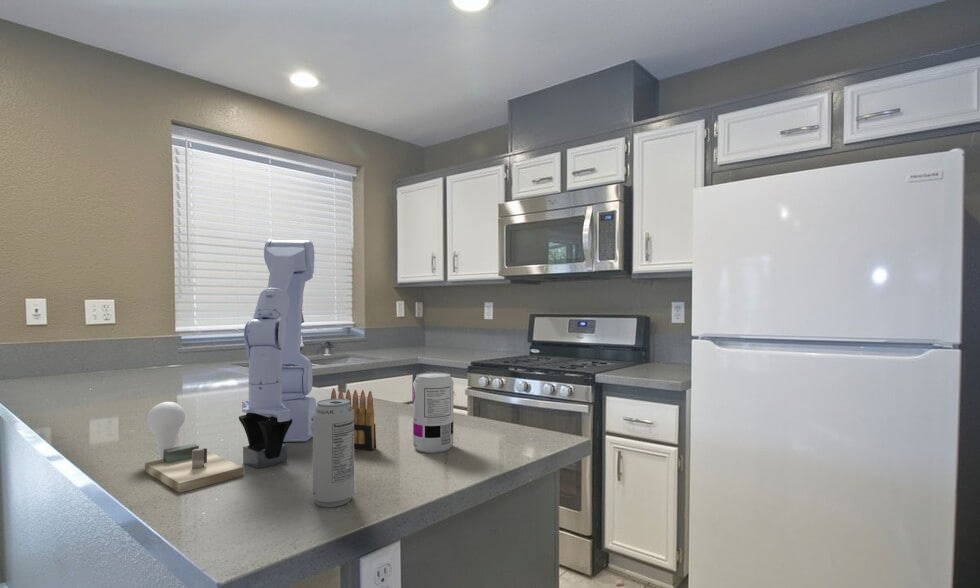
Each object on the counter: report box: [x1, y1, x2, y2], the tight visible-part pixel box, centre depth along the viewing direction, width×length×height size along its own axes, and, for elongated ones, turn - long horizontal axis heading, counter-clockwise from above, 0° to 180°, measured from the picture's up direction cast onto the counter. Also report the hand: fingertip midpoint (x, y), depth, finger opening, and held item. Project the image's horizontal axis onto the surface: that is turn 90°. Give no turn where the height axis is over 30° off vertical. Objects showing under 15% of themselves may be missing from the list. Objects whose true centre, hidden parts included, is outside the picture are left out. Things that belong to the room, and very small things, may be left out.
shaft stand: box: [144, 443, 244, 494], centre depth 89 cm, size 16×10×4 cm, turn 51°
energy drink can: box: [312, 398, 355, 508], centre depth 77 cm, size 6×6×15 cm
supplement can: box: [412, 372, 454, 454], centre depth 104 cm, size 8×8×15 cm
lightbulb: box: [146, 401, 186, 459], centre depth 97 cm, size 6×6×11 cm
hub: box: [242, 442, 288, 470], centre depth 95 cm, size 6×6×3 cm
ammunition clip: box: [330, 388, 377, 452], centre depth 105 cm, size 11×2×12 cm, turn 71°
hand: (265, 454), depth 95 cm, fingers closed on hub, 6 cm apart
